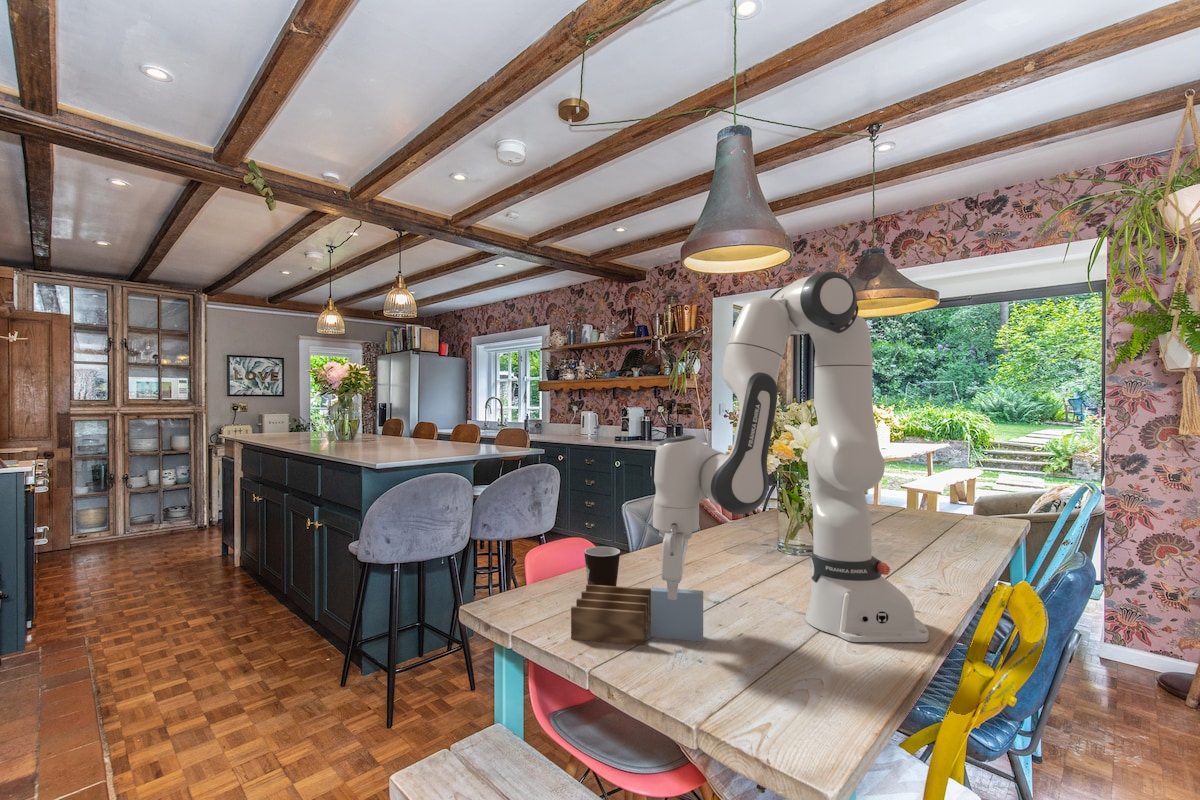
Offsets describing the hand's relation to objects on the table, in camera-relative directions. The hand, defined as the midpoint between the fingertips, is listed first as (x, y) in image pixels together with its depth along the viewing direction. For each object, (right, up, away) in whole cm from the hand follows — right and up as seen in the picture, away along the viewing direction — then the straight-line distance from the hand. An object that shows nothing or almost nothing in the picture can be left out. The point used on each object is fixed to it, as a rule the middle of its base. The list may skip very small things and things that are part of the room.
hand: (674, 590), depth 108 cm
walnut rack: (-12, -9, +5) cm, 16 cm away
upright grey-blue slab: (+1, -9, 0) cm, 9 cm away
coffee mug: (-14, -9, +26) cm, 31 cm away
